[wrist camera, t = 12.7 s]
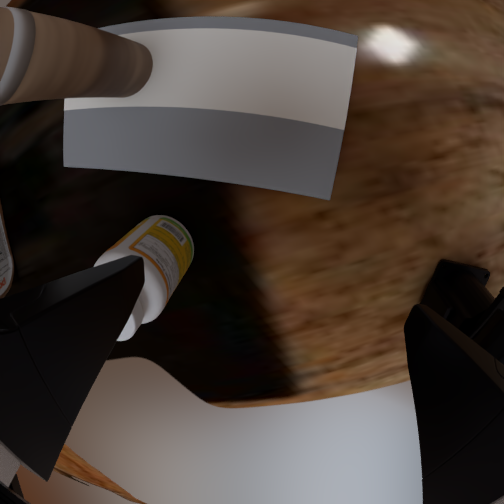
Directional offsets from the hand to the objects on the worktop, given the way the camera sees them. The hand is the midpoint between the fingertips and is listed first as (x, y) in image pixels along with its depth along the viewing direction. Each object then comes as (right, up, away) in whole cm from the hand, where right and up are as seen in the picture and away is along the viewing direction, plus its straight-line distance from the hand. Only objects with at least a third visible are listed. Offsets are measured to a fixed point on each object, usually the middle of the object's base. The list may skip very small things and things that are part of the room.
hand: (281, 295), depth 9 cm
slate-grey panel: (-5, +12, +9) cm, 16 cm away
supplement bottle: (-8, +2, +15) cm, 17 cm away
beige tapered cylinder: (-10, +15, +8) cm, 19 cm away
